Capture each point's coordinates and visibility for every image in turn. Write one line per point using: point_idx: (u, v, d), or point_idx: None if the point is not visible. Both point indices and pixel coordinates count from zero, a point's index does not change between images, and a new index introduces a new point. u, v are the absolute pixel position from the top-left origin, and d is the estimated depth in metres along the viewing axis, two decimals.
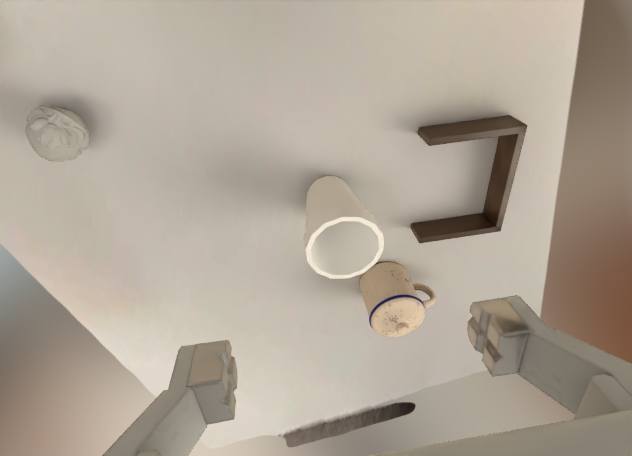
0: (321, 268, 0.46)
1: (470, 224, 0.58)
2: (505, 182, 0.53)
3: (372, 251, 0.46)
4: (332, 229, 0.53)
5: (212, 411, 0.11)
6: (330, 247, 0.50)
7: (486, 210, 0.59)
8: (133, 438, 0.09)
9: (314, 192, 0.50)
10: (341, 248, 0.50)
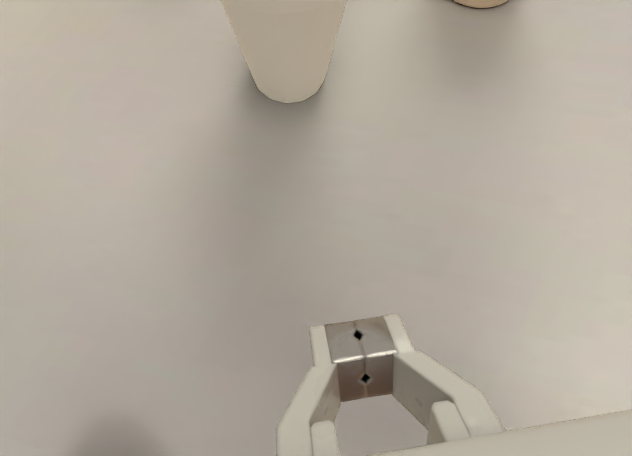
0: None
1: None
2: None
3: None
4: None
5: (348, 389, 0.11)
6: None
7: None
8: (301, 410, 0.09)
9: (254, 69, 0.28)
10: None
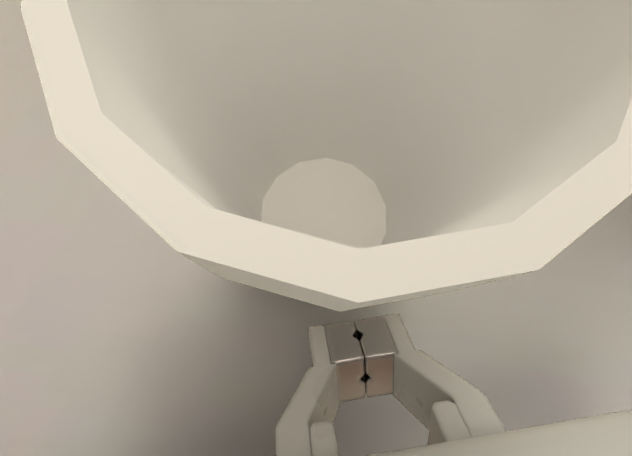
0: (595, 144, 0.05)
1: None
2: None
3: None
4: (414, 183, 0.14)
5: (347, 389, 0.11)
6: (467, 161, 0.10)
7: None
8: (300, 410, 0.09)
9: None
10: (468, 109, 0.10)
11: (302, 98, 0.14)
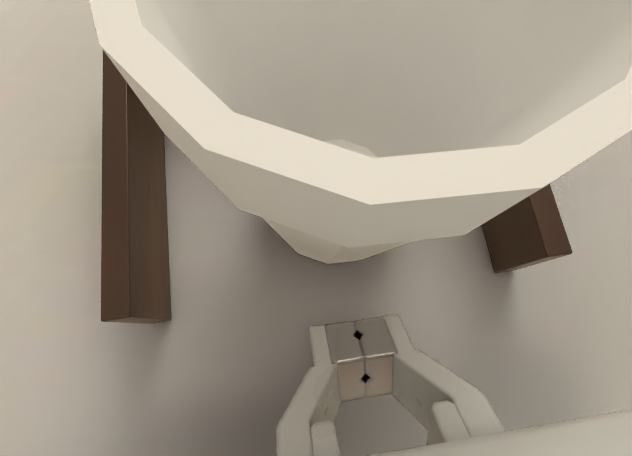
0: (605, 87, 0.05)
1: None
2: None
3: None
4: None
5: (348, 389, 0.11)
6: (480, 134, 0.10)
7: None
8: (301, 410, 0.09)
9: None
10: (484, 83, 0.10)
11: (322, 73, 0.14)
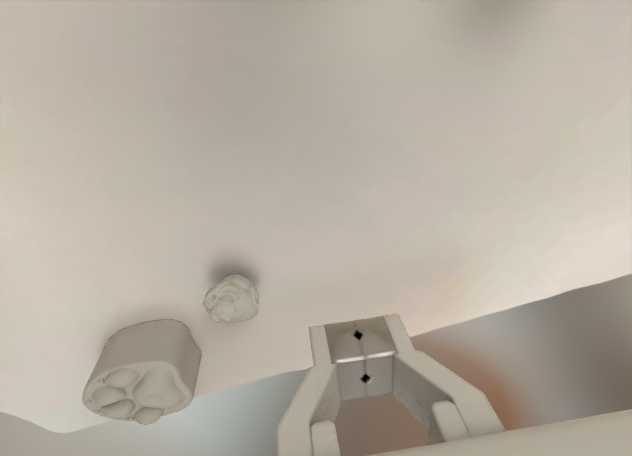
0: None
1: None
2: None
3: None
4: None
5: (348, 389, 0.11)
6: None
7: None
8: (300, 410, 0.09)
9: None
10: None
11: None
